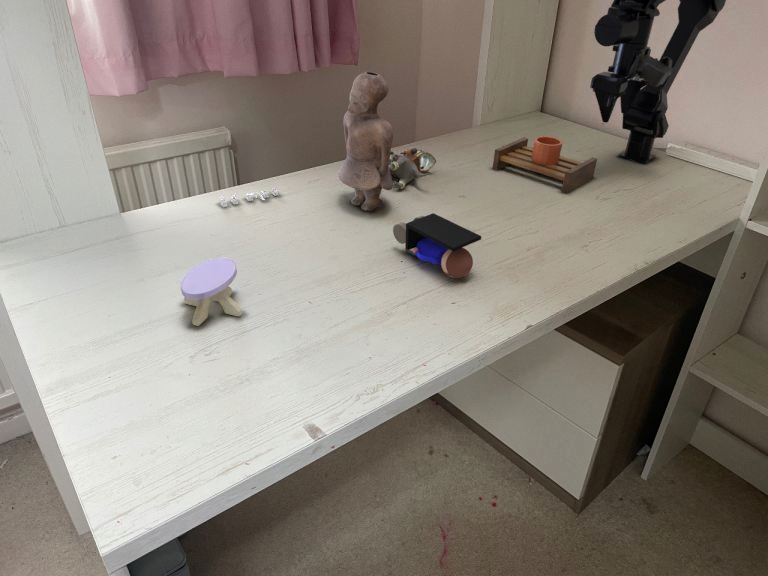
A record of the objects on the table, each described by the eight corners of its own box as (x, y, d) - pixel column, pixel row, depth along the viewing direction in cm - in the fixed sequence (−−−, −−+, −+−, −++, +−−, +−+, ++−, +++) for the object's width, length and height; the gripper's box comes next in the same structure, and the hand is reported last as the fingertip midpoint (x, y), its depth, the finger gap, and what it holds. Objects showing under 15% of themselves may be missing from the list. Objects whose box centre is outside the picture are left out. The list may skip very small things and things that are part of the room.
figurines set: (275, 192, 122) (274, 179, 121) (281, 197, 120) (280, 184, 119) (216, 204, 117) (215, 190, 115) (221, 210, 115) (220, 196, 113)
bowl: (540, 153, 137) (543, 134, 135) (563, 160, 134) (567, 141, 132) (526, 160, 134) (529, 140, 131) (550, 167, 130) (553, 147, 128)
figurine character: (390, 258, 104) (452, 288, 94) (388, 216, 101) (452, 242, 90) (419, 247, 108) (482, 274, 98) (419, 206, 105) (484, 230, 94)
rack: (520, 155, 144) (523, 137, 142) (593, 178, 134) (597, 158, 132) (492, 168, 137) (494, 149, 134) (566, 193, 127) (570, 173, 124)
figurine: (342, 150, 129) (390, 131, 140) (344, 177, 132) (390, 157, 144) (421, 168, 118) (465, 146, 130) (420, 197, 121) (464, 174, 133)
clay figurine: (325, 200, 120) (323, 68, 106) (364, 187, 126) (366, 61, 112) (368, 224, 112) (371, 84, 98) (408, 209, 118) (416, 76, 104)
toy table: (214, 283, 93) (210, 251, 90) (261, 302, 90) (257, 268, 87) (165, 315, 86) (158, 280, 83) (213, 336, 82) (208, 301, 79)
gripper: (653, 54, 113) (632, 136, 121) (690, 41, 125) (668, 117, 133) (597, 44, 119) (581, 123, 128) (637, 33, 131) (619, 106, 139)
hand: (614, 117), depth 132 cm, fingers open, 9 cm apart
